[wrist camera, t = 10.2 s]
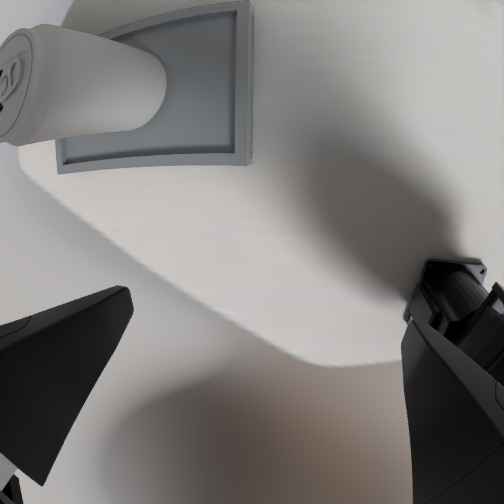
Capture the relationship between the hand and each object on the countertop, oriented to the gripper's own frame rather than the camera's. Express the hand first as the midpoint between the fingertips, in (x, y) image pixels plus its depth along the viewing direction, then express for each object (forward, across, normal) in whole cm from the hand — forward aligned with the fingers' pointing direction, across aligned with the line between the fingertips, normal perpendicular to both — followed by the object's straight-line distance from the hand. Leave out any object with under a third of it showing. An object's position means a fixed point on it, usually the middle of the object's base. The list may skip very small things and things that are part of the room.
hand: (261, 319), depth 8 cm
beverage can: (+12, +12, -9) cm, 19 cm away
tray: (+13, +12, -9) cm, 20 cm away
